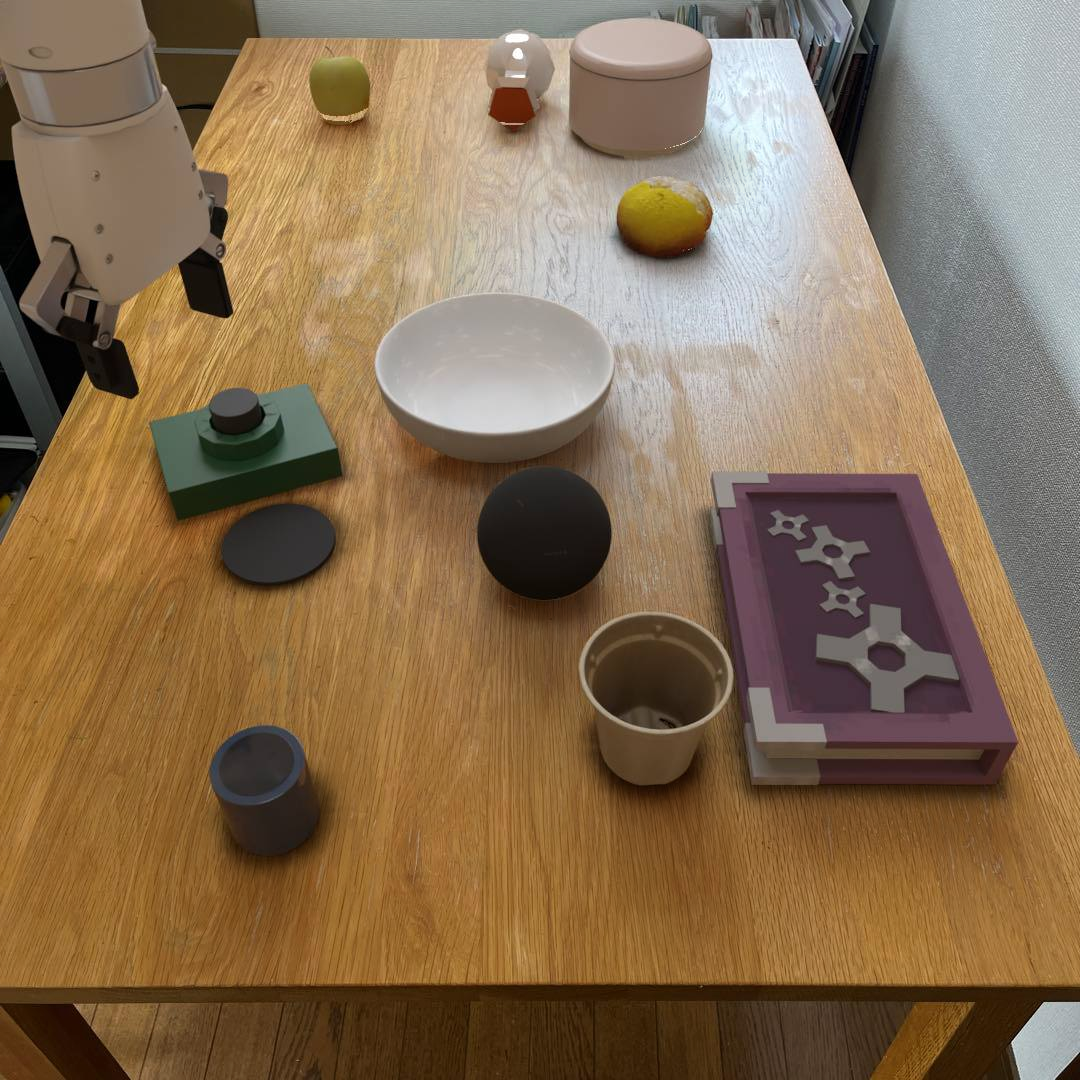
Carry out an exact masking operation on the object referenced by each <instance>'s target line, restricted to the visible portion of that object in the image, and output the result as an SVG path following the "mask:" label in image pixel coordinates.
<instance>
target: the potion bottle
mask: <svg viewBox="0 0 1080 1080" xmlns="http://www.w3.org/2000/svg"><path fill="white" fill-rule="evenodd" d="M553 59H554V58H553V56H552V51H551V50H550V48H549V47H548V45H546V43H545V42H544V41H543V39H542V38H541V37H540V36H539V35H538V34H536V33H533V32H530V31H528V30H524V29H521V28H518V29H515V30H511V31H509V32H506V33H503V34H501V35H500V36H499V37H498V38H497V39H496V40H495V41H494V42H493V43H492V44H491V45H490V46H489V47H488V51H487V55H486V58H485V62H484V66H483V70H484V74H485V78H486V83H487V86H488V87H489V89H490V90H491V95H490V97H489V101H488V105H487V107H488V108H489V110H488V117H490V118H492V119H493V120H494V121H496V122H497V123H499V122H505V123H525V124H527V123H528V122H530V121H531V120H533V119H534V118H536V117H537V115H536V112H537V111H538V110H539V109H541V105H540V103H539V100H540V99H541V98H542V97H543V96H544V95H545V94H546V92H548V91H549V89H550V85H551V83H552V80H553V76H554V74H555V70H556V68H555V63H554V60H553ZM540 97H541V98H540ZM539 98H540V99H539ZM537 99H539V100H537ZM503 126H504V127H505V128H506V129H507V130H509V131H511V132H514V131H516V130H518V129H519V128H521V127H522V126H523V125H503Z"/></svg>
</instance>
